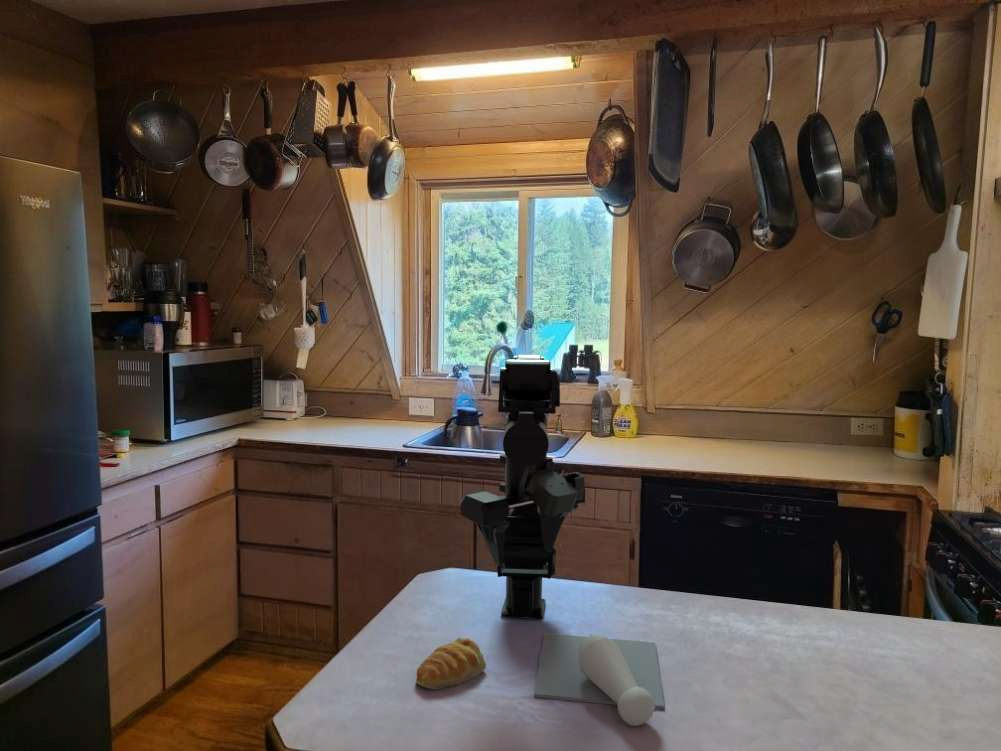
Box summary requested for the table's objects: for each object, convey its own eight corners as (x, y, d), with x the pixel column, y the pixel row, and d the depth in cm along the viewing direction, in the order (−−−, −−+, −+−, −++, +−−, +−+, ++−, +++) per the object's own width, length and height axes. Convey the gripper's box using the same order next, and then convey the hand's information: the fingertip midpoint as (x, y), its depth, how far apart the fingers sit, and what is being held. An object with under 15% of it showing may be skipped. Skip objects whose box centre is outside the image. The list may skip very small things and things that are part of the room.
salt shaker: (618, 635, 96) (672, 698, 84) (598, 671, 96) (648, 740, 84) (585, 623, 93) (635, 687, 82) (564, 660, 94) (611, 729, 82)
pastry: (438, 701, 89) (438, 672, 88) (403, 681, 93) (403, 653, 93) (489, 671, 96) (490, 644, 95) (454, 654, 100) (454, 628, 100)
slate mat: (544, 635, 105) (544, 633, 105) (655, 645, 103) (655, 642, 103) (533, 696, 90) (533, 693, 90) (664, 709, 87) (664, 706, 87)
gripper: (511, 470, 87) (509, 593, 89) (615, 451, 99) (611, 560, 101) (458, 454, 96) (457, 566, 97) (559, 438, 107) (557, 538, 109)
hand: (524, 558), depth 101 cm, fingers open, 9 cm apart
